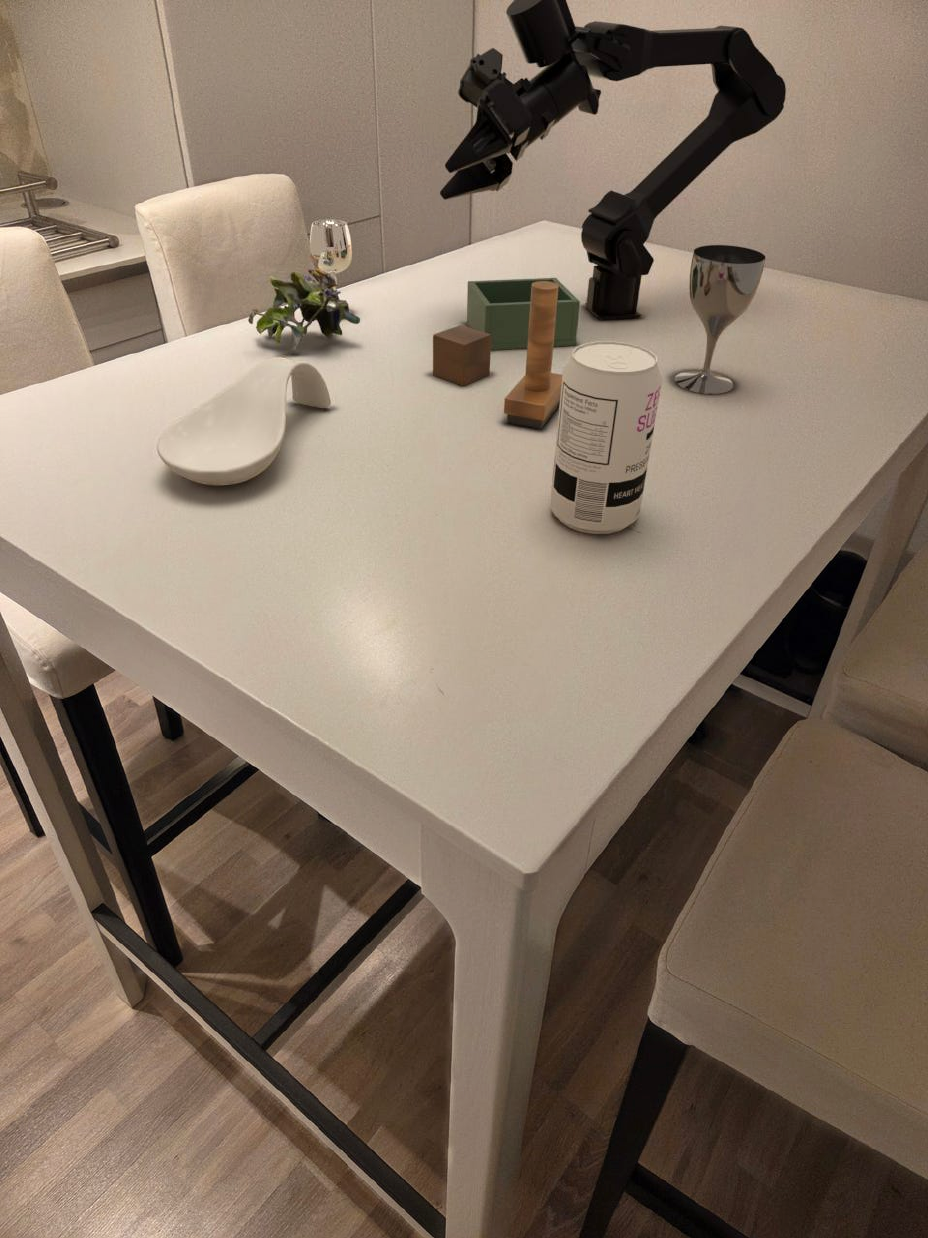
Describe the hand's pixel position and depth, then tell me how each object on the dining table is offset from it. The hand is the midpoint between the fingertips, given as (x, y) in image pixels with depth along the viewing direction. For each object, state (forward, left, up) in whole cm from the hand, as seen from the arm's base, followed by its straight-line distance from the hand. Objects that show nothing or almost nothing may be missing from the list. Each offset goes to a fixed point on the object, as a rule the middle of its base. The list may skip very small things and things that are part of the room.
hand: (444, 183), depth 105 cm
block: (0, +14, -19) cm, 23 cm away
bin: (-11, +1, -19) cm, 22 cm away
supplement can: (-5, +49, -19) cm, 52 cm away
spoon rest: (+25, +30, -19) cm, 44 cm away
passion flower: (+18, +1, -19) cm, 26 cm away
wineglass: (+13, -11, -19) cm, 26 cm away
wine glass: (-29, +21, -19) cm, 40 cm away
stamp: (-6, +26, -19) cm, 32 cm away
